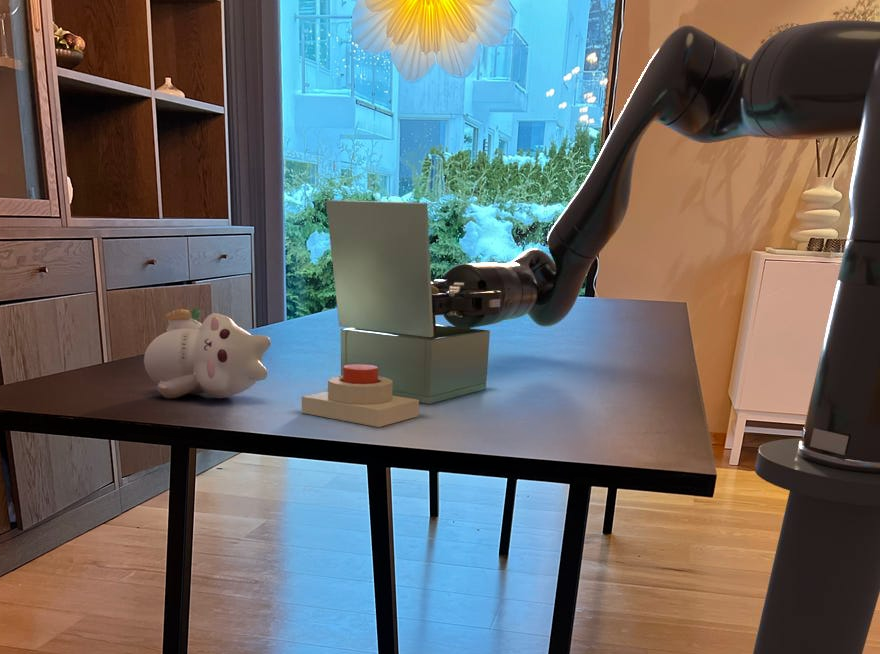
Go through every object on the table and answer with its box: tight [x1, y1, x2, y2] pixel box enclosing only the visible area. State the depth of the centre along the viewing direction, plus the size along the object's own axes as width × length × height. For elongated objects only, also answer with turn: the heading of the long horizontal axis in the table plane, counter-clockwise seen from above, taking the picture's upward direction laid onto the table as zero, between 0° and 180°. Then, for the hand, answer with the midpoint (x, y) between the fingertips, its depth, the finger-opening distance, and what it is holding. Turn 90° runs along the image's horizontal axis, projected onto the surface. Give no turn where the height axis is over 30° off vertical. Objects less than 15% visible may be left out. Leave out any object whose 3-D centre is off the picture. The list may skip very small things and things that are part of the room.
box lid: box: [325, 199, 434, 337], centre depth 96 cm, size 13×13×1 cm
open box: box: [340, 324, 491, 405], centre depth 106 cm, size 13×13×7 cm
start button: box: [343, 364, 378, 384], centre depth 92 cm, size 4×4×2 cm
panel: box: [301, 375, 420, 428], centre depth 93 cm, size 10×7×4 cm
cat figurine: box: [143, 307, 272, 399], centre depth 98 cm, size 10×8×15 cm
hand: (405, 303), depth 101 cm, fingers closed on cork, 5 cm apart
